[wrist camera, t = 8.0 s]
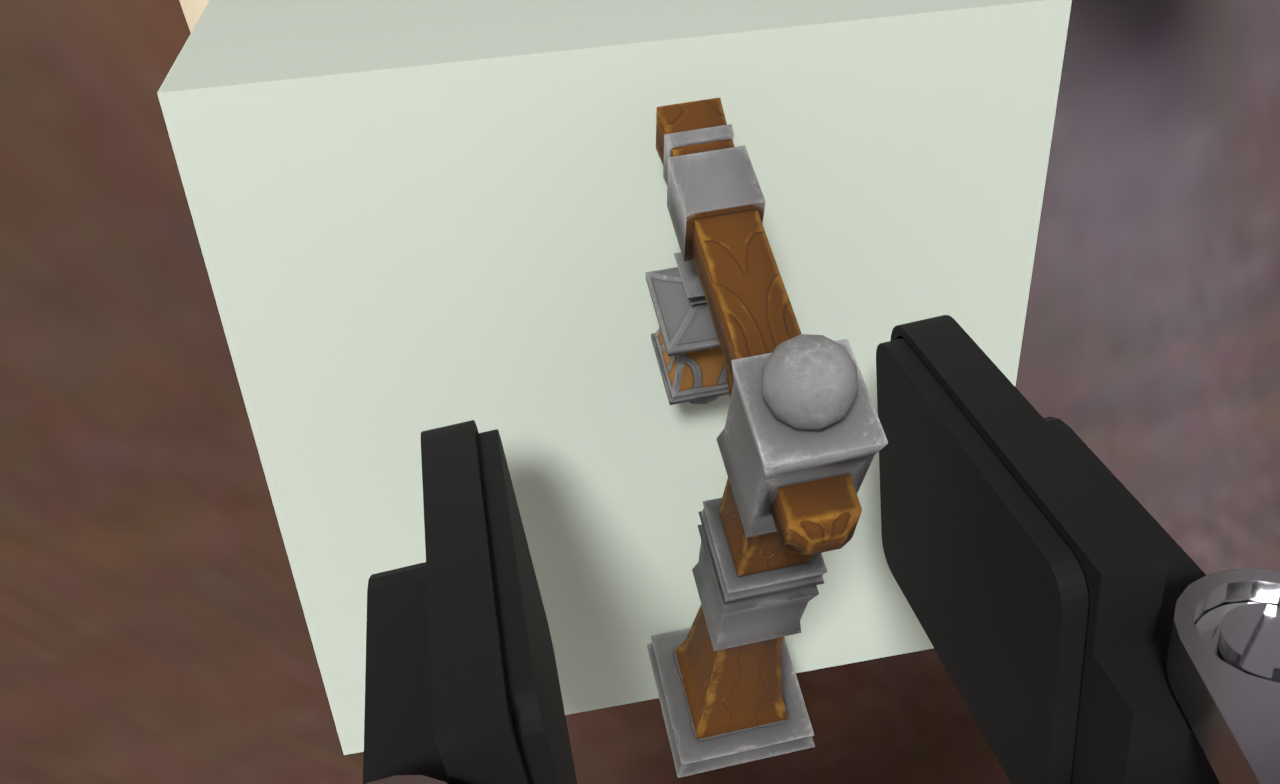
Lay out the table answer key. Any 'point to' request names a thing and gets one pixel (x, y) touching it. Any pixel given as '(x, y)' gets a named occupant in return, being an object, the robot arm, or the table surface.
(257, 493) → the table surface
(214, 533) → the table surface
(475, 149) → the top block
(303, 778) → the table surface
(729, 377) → the wooden post with brackets
